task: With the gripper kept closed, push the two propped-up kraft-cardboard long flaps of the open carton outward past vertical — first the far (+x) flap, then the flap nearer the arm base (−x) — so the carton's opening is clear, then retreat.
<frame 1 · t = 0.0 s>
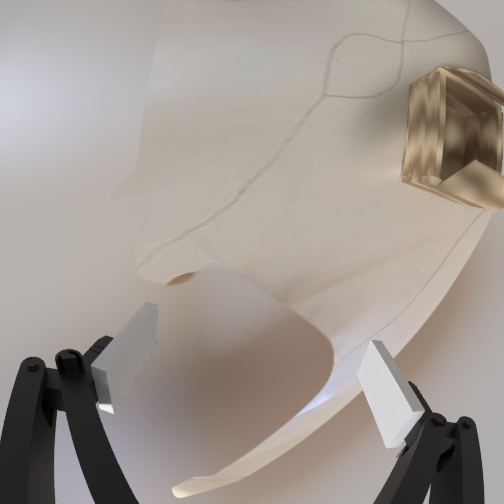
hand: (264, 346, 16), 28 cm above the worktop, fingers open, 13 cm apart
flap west: (490, 90, 22), point 14 cm above the worktop, hinge at 65.0°
carton: (438, 144, 37), on the worktop
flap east: (486, 189, 25), point 14 cm above the worktop, hinge at 65.0°
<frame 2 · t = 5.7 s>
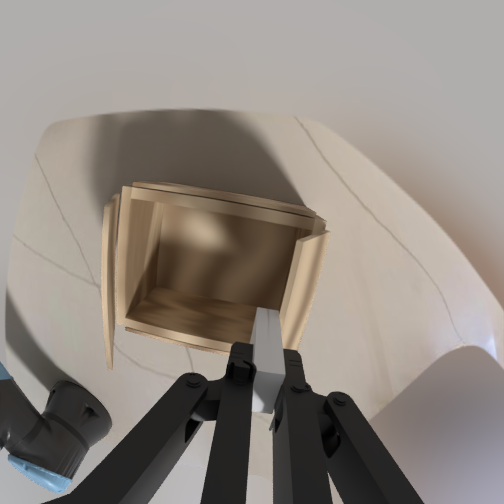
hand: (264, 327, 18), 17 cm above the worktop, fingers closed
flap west: (109, 277, 20), point 14 cm above the worktop, hinge at 65.0°
carton: (223, 252, 34), on the worktop
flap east: (296, 316, 20), point 14 cm above the worktop, hinge at 65.4°, touching gripper
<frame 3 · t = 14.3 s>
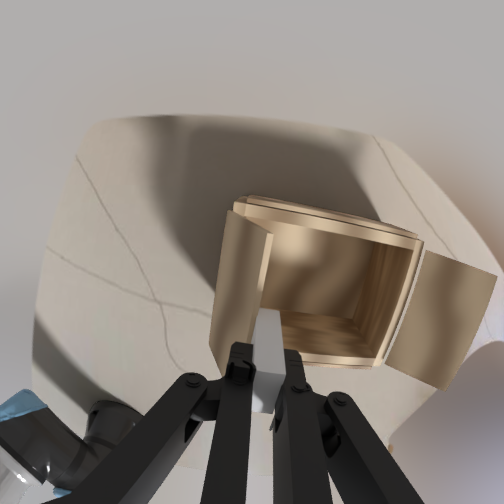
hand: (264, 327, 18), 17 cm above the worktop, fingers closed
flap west: (232, 304, 20), point 14 cm above the worktop, hinge at 67.7°, touching gripper
carton: (305, 265, 34), on the worktop
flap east: (440, 325, 21), point 13 cm above the worktop, hinge at 136.9°
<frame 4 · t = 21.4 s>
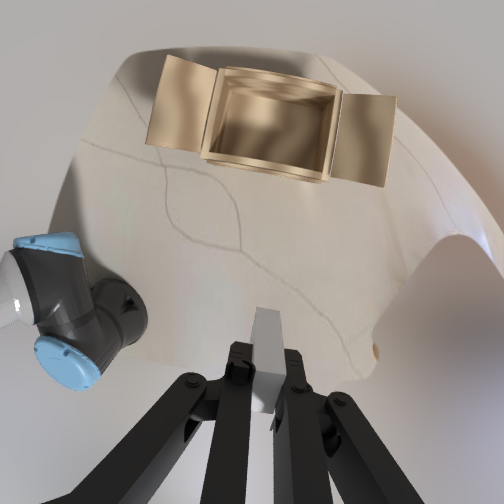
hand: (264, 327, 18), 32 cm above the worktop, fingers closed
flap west: (182, 103, 32), point 13 cm above the worktop, hinge at 135.9°
carton: (271, 132, 45), on the worktop
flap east: (364, 136, 32), point 13 cm above the worktop, hinge at 136.9°
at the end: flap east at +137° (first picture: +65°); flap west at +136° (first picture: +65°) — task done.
